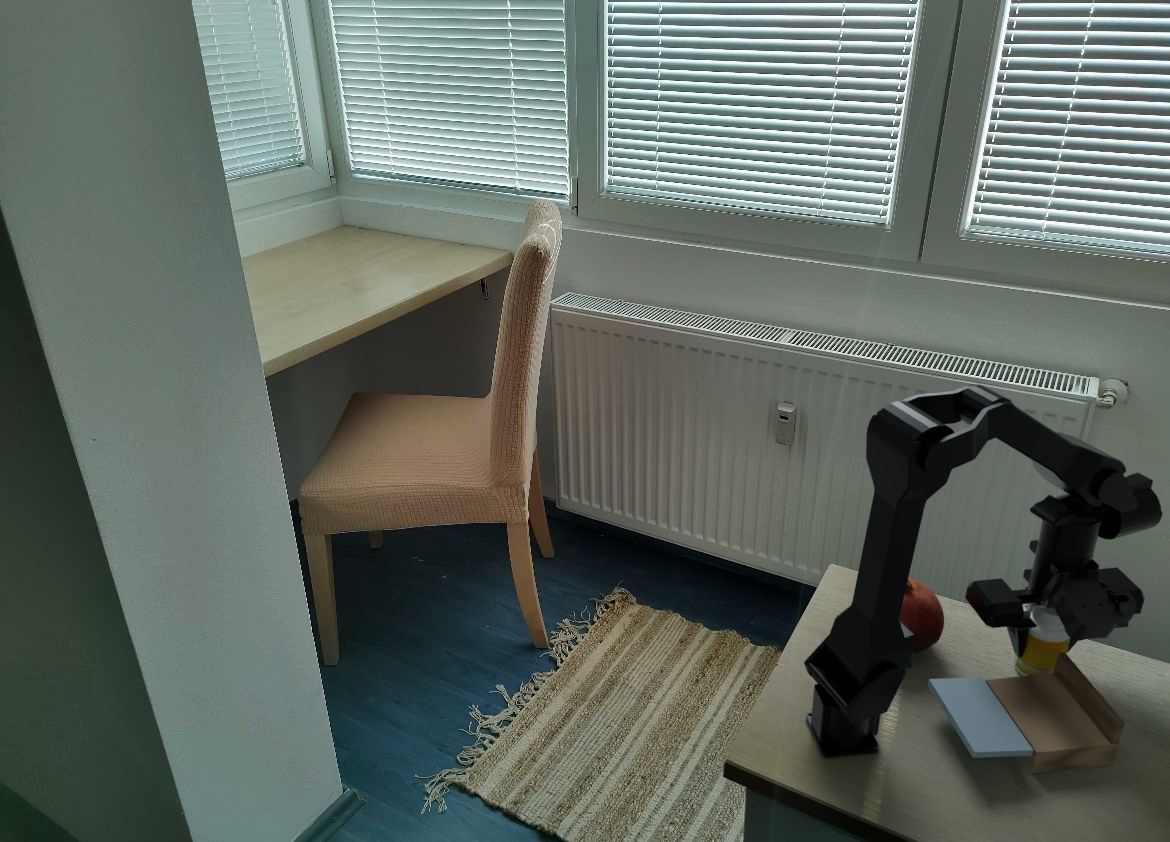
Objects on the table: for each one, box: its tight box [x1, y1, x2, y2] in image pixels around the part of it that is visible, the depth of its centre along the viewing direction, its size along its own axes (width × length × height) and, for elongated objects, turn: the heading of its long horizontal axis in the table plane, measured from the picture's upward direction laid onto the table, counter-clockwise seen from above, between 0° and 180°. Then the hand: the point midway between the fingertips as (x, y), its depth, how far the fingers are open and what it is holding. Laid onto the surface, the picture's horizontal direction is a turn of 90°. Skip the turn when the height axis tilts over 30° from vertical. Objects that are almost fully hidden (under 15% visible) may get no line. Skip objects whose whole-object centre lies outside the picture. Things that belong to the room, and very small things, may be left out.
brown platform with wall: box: [985, 653, 1126, 774], centre depth 100 cm, size 9×11×6 cm
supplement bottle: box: [1013, 607, 1071, 676], centre depth 108 cm, size 5×5×10 cm
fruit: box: [900, 576, 945, 654], centre depth 114 cm, size 11×10×10 cm
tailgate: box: [927, 677, 1033, 759], centre depth 100 cm, size 1×11×6 cm
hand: (1040, 652), depth 109 cm, fingers closed on supplement bottle, 5 cm apart
